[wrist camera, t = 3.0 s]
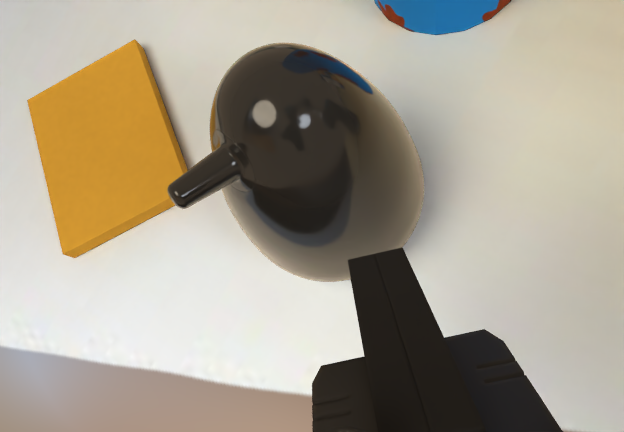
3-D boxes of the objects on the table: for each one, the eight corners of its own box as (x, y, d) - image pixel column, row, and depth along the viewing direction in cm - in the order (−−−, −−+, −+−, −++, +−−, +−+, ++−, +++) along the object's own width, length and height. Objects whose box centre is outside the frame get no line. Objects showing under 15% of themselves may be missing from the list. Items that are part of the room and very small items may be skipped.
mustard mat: (196, 194, 34) (188, 188, 33) (74, 258, 35) (62, 254, 34) (143, 48, 39) (134, 39, 38) (38, 107, 40) (26, 100, 39)
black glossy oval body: (234, 221, 33) (77, 109, 19) (341, 109, 33) (267, -82, 19) (342, 331, 29) (248, 292, 15) (462, 202, 29) (480, 48, 15)
